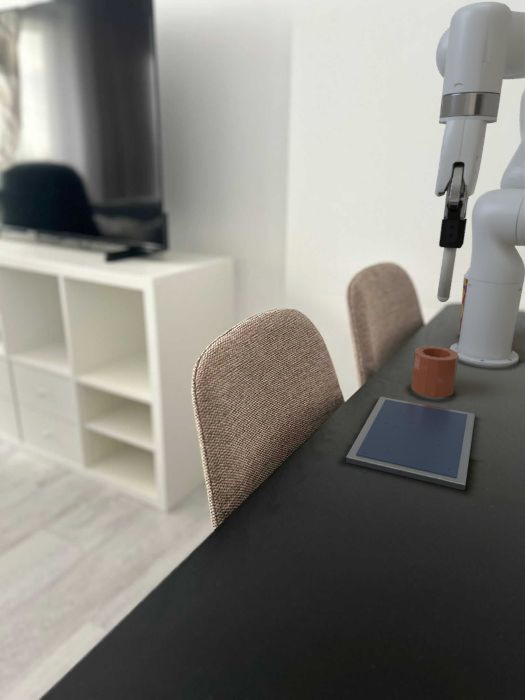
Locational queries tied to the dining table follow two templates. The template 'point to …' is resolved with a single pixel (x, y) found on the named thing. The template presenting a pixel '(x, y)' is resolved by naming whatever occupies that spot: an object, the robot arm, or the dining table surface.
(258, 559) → the dining table surface
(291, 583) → the dining table surface
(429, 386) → the holder
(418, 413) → the tablet
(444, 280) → the stylus
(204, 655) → the dining table surface
